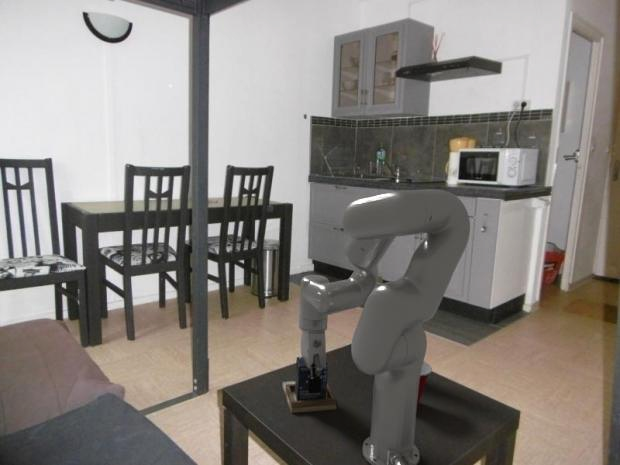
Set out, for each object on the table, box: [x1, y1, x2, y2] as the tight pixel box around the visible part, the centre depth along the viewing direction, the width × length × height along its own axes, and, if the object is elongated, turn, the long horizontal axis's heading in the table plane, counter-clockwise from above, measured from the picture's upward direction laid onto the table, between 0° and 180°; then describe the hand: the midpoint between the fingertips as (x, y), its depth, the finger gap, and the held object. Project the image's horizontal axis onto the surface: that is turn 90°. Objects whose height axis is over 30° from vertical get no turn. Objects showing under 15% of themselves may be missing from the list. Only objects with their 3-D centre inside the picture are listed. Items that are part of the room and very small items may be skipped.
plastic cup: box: [417, 360, 433, 408], centre depth 121 cm, size 11×11×12 cm
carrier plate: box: [281, 380, 337, 414], centre depth 124 cm, size 14×12×4 cm
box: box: [294, 356, 329, 401], centre depth 121 cm, size 8×6×11 cm
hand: (310, 382), depth 121 cm, fingers open, 9 cm apart
